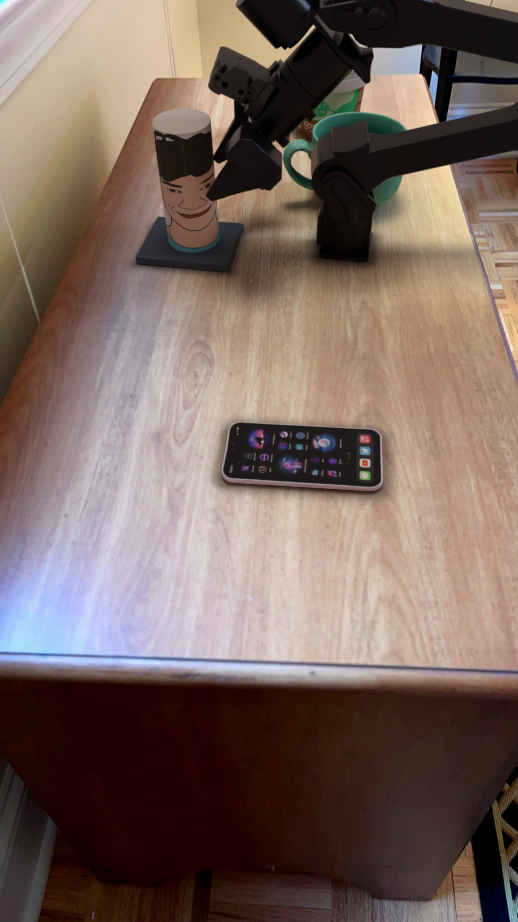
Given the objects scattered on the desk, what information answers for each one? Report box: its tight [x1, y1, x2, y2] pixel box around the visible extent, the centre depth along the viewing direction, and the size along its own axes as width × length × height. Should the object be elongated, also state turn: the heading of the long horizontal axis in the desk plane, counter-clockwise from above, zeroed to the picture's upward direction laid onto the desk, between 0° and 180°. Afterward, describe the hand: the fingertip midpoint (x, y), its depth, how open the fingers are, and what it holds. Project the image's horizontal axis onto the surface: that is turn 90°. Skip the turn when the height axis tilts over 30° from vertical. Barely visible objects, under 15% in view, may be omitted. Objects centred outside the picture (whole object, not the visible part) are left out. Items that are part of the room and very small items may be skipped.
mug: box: [282, 111, 408, 208], centre depth 94 cm, size 17×13×10 cm
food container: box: [298, 71, 367, 142], centre depth 107 cm, size 12×6×10 cm, turn 73°
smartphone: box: [221, 421, 384, 492], centre depth 66 cm, size 8×1×15 cm
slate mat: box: [135, 216, 245, 273], centre depth 90 cm, size 12×10×1 cm
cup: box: [151, 108, 220, 253], centre depth 85 cm, size 7×7×15 cm
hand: (212, 178), depth 84 cm, fingers open, 9 cm apart
